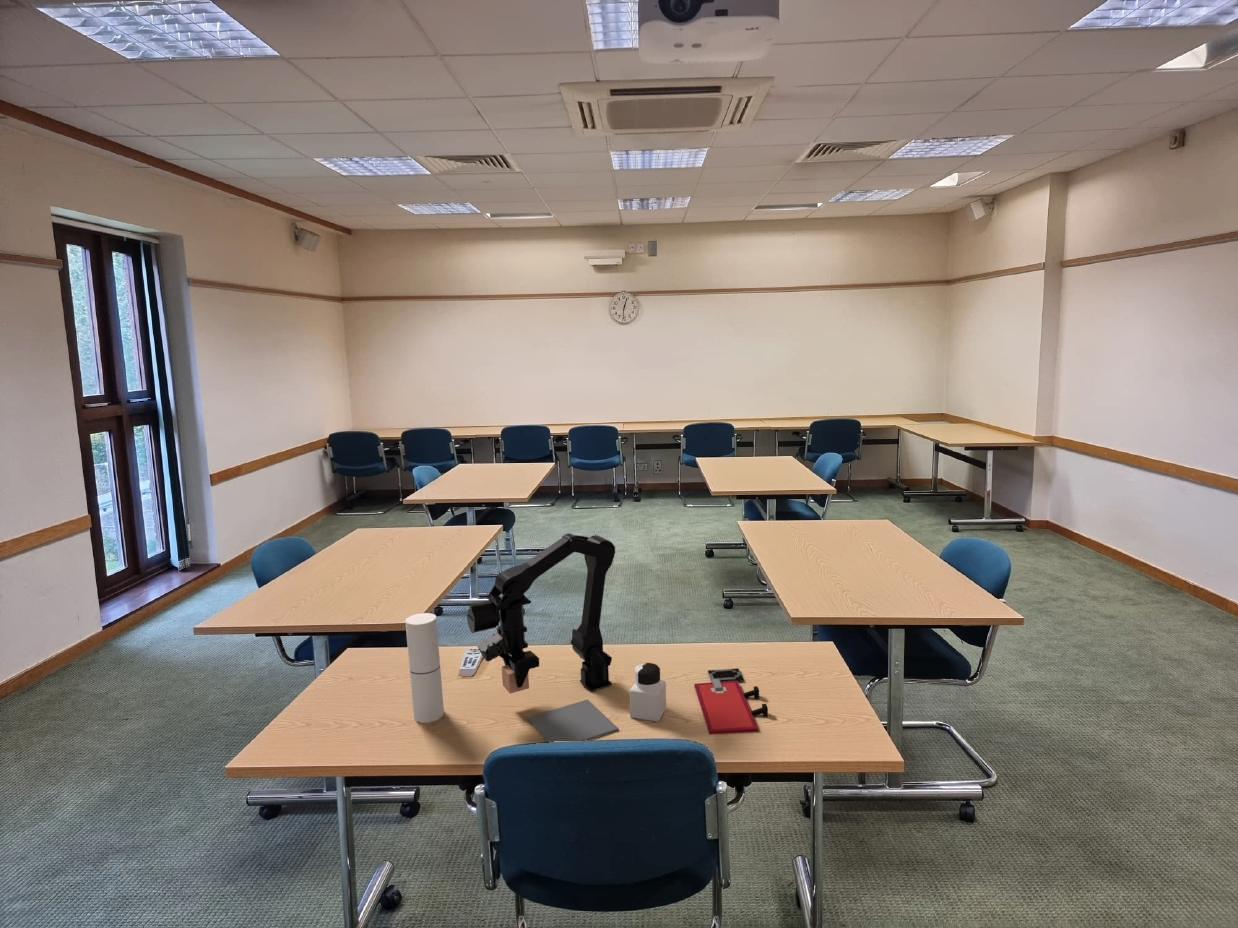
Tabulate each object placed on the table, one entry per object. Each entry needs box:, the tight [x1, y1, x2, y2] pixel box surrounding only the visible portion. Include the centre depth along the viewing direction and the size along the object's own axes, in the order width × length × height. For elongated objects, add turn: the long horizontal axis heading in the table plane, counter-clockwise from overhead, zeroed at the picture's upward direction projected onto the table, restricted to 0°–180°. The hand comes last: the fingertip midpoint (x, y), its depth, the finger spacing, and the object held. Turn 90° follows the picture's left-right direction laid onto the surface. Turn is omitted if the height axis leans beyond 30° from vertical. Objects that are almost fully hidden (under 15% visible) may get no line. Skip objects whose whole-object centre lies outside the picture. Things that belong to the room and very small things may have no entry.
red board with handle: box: [693, 667, 769, 735], centre depth 175 cm, size 30×3×15 cm
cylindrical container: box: [404, 612, 445, 724], centre depth 170 cm, size 7×7×25 cm
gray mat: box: [527, 699, 620, 743], centre depth 166 cm, size 16×16×1 cm
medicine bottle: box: [629, 662, 667, 723], centre depth 169 cm, size 7×7×12 cm
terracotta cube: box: [501, 665, 530, 695], centre depth 174 cm, size 5×5×5 cm
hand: (515, 682), depth 174 cm, fingers closed on terracotta cube, 5 cm apart
